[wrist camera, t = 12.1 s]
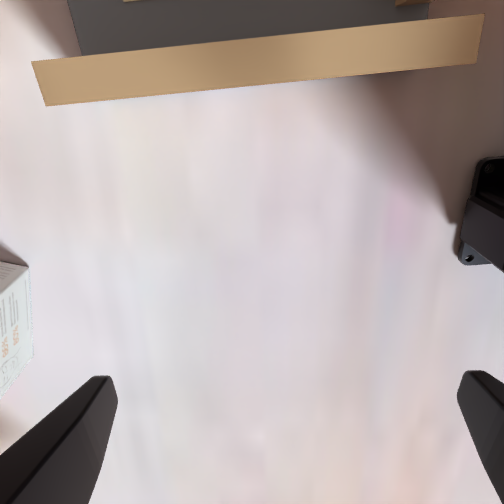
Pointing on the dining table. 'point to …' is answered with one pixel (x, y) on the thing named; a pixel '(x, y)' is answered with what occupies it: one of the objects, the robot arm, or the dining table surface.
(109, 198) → the dining table surface
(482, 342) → the dining table surface
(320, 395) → the dining table surface
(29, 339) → the small box
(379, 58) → the corner tray
